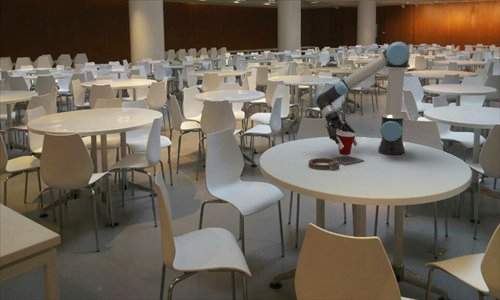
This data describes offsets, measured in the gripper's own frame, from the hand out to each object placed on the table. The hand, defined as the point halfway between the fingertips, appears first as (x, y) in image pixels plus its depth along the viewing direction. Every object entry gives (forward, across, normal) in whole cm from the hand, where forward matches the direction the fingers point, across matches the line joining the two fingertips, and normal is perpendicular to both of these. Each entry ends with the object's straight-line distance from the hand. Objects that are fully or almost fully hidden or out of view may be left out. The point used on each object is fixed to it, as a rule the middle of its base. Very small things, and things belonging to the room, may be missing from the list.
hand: (349, 146), depth 279 cm
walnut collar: (+5, +17, -7) cm, 19 cm away
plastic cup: (+1, 0, -6) cm, 6 cm away
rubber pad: (+4, 0, -8) cm, 9 cm away
